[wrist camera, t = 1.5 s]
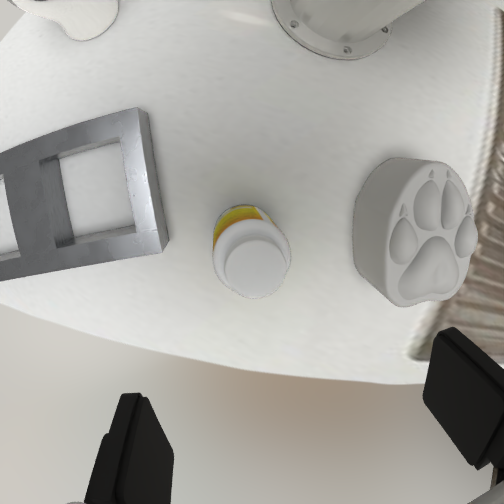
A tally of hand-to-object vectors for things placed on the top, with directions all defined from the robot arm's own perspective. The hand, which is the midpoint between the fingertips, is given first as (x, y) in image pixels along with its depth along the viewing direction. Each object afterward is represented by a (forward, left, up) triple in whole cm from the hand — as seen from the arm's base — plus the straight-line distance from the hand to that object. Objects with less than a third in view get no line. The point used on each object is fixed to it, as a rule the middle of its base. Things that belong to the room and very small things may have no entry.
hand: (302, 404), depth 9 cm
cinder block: (-7, -19, -22) cm, 30 cm away
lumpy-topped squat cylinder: (+1, +16, -22) cm, 28 cm away
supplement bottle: (0, 0, -22) cm, 22 cm away
